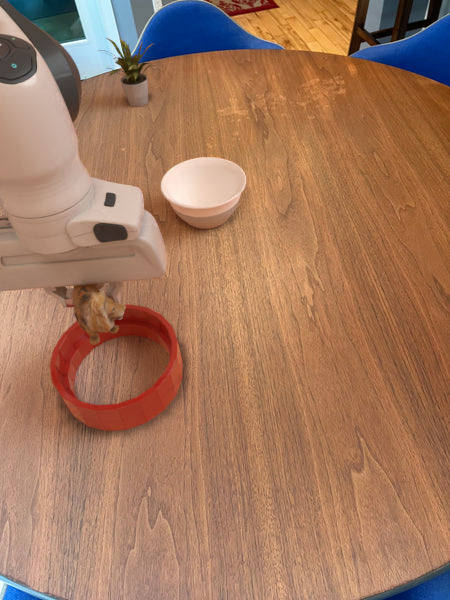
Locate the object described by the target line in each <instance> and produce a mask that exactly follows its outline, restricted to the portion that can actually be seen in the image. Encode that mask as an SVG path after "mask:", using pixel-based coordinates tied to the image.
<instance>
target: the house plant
mask: <svg viewBox="0 0 450 600" xmlns="http://www.w3.org/2000/svg"><path fill="white" fill-rule="evenodd" d="M105 39H106V40H108V41H109V42H110V43H111V44H112V45H113V47H114V49H115V50H116V52H117V53H118V55H119V57H118V56H117V55H114V54H113V53H112V52H109V51H108V50H101V49H100V50H98V52H106V54H107V55H109V56H111V57H112V58H113V60H115V61H114V63H115V64H116V65H118V66H120V67H121V69H122V70H121V69H113V68H112V67H107V70H108V69H109V70H111V71H110V73H109V76H108V77H109V79H110V77H112V76H113V75H114V74H116V73H117V74H119V75H121V76H122V77H121V78H120V80H119V81H120V84H121V86H122V90H123V91H124V94H125V97H126V100H127V101H128V103H129V104H128V105H129V106H131V107H132V108H139V107H144V106H146V105H147V104H148V103H149V80H148V79H149V77H148V75H146V73H145V72H146V70H147V69H148V68H150V67H155V65H154V64H151V63H150V62H141V60H142V58H143V56H144V55H145V53H147V51H148V49H149V48H150V47H151V46H153V45H154V43H151V44H150V45H148V46H146V48H145V50H144V51H143V53H142V54H141V51H142V45H143V41H144V40H143V39H142V41H141V43H140V45H139V49H138V53H136V54H134V55H133V56H132V53H131V48H130V43H127V42H126V41H125V40H124V39H122V38H121V37H119V42H120V46H121V49H120V47H119V46H118V45H117V43H116V42H115V41H113V40H112V39H110V38H108V37H105ZM114 56H115V57H114ZM140 63H141V64H140ZM146 65H148V66H146ZM145 66H146V67H145ZM144 67H145V69H144V70H143V68H144ZM142 70H143V72H142V73H141V71H142ZM120 72H122V73H123V74H121V73H120Z"/></svg>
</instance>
